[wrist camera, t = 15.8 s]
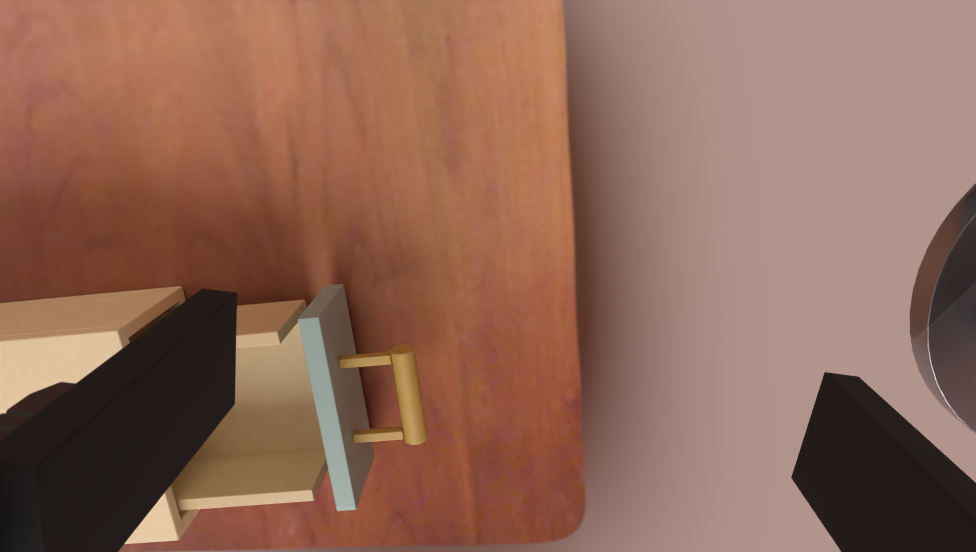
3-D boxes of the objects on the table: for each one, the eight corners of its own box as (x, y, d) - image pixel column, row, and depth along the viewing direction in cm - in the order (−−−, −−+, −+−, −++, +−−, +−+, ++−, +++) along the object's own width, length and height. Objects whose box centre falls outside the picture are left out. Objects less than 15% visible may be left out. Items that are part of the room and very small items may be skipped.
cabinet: (182, 285, 44) (117, 330, 36) (229, 467, 48) (178, 540, 40) (-47, 307, 44) (-155, 354, 37) (18, 484, 49) (-68, 558, 41)
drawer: (414, 276, 42) (400, 309, 36) (440, 450, 46) (430, 504, 40) (120, 304, 43) (63, 340, 38) (168, 471, 47) (123, 526, 41)
